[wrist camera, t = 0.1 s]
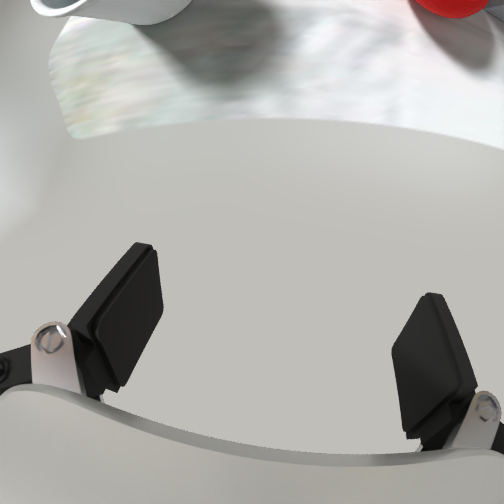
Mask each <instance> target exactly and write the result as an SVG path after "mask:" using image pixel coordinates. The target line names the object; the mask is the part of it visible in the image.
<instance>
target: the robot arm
mask: <svg viewBox="0 0 504 504" xmlns="http://www.w3.org/2000/svg"><path fill="white" fill-rule="evenodd" d="M163 308H164V307H163V299H162V291H161V285H160V275H159V266H158V257H157V251H156V250H153V247H152V245H149V244H143V243H138V242H136V243H134V244H133V245H132V246H131V248H130V249H129V250H128V251H127V252H126V253H125V255H124V256H123V257H122V258H121V259H120V260H119V261H118V262H117V264H116V265H115V266H114V267H113V268H112V269H111V271H110V272H109V273H108V274H107V275H106V277H105V278H104V279H103V280H102V281H101V283H100V284H99V285H98V286H97V287H96V289H95V290H94V291H93V292H92V294H91V295H90V296H89V297H88V299H87V300H86V301H85V302H84V304H83V305H82V306H81V307H80V309H79V310H78V311H77V313H76V314H75V315H74V316H73V318H72V319H71V321H70V322H69V324H68V325H65V324H63V323H61V322H56V321H55V322H49V323H46V324H44V325H42V326H41V327H39V328H38V329H37V330H36V331H35V332H34V335H33V336H32V339H31V344H29V345H26V346H23V347H20V348H17V349H14V350H10V351H7V352H3V353H0V504H504V424H503V423H501V422H500V419H501V407H500V404H499V402H498V400H497V398H496V397H495V396H494V395H493V394H491V393H489V392H488V391H479V392H478V393H475V389H476V388H477V387H478V385H477V381H476V378H475V375H474V372H473V369H472V366H471V363H470V360H469V358H468V355H467V352H466V349H465V347H464V344H463V341H462V339H461V336H460V334H459V331H458V329H457V326H456V324H455V322H454V319H453V317H452V315H451V312H450V310H449V308H448V306H447V303H446V301H445V299H444V297H443V295H441V294H437V293H426V294H425V296H422V297H421V298H420V300H419V301H418V303H417V305H416V307H415V309H414V311H413V312H412V314H411V316H410V318H409V319H408V321H407V323H406V325H405V326H404V328H403V330H402V332H401V333H400V335H399V336H398V338H397V340H396V341H395V343H394V345H393V347H392V359H393V365H394V370H395V377H396V383H397V389H398V396H399V403H400V411H401V420H402V428H403V431H405V432H406V437H407V439H418V438H420V440H421V444H420V445H419V447H418V448H417V450H416V451H415V452H411V453H398V454H397V453H396V454H370V455H368V454H366V455H358V454H357V455H354V454H352V455H351V454H325V453H310V452H299V451H289V450H280V449H273V448H266V447H259V446H253V445H247V444H242V443H236V442H231V441H226V440H222V439H217V438H213V437H208V436H204V435H200V434H196V433H192V432H188V431H185V430H181V429H177V428H174V427H171V426H167V425H164V424H161V423H158V422H155V421H151V420H149V419H146V418H143V417H140V416H137V415H133V414H131V413H128V412H125V411H122V410H120V409H117V408H114V407H112V406H109V405H107V404H105V403H104V400H103V396H102V394H103V393H104V391H105V389H108V390H111V391H114V392H116V393H117V392H118V390H119V388H120V386H122V387H123V386H125V384H126V383H127V381H128V379H129V377H130V375H131V373H132V371H133V369H134V367H135V366H136V363H137V362H138V360H139V358H140V356H141V354H142V352H143V350H144V348H145V346H146V344H147V342H148V340H149V339H150V337H151V335H152V333H153V331H154V329H155V327H156V325H157V323H158V321H159V320H160V318H161V316H162V314H163Z"/></svg>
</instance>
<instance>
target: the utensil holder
mask: <svg viewBox="0 0 504 504" xmlns="http://www.w3.org/2000/svg"><path fill="white" fill-rule="evenodd" d="M30 1H31V4H32V6H33V8H34V9H35V10H36V12H37V13H39V14H41V15H43V16H47V17H65V16H80V17H89V18H97V19H105V20H111V21H118V22H124V23H130V24H137V25H152V24H157V23H160V22H163V21H166V20H168V19H170V18H172V17H173V16H175V15H177V14H178V13H179V12H181V11H182V10H183V9H184V8H185V7H187V5H188V4H189V3H190V2H191V1H192V0H30Z"/></svg>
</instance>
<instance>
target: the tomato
mask: <svg viewBox="0 0 504 504" xmlns="http://www.w3.org/2000/svg"><path fill="white" fill-rule="evenodd" d="M415 1H416V2H417V3H418V4H420V5H421V6H422V7H423V8H425V9H427V10H428V11H430V12H432V13H434V14H437V15H439V16H443V17H446V18H464V17H467V16H470V15H473V14H475V13H477V12H478V11H480V10H481V9H483V8H484V7H485V6H486V5H487V3H488V1H489V0H415Z"/></svg>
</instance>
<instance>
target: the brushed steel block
mask: <svg viewBox="0 0 504 504" xmlns="http://www.w3.org/2000/svg"><path fill="white" fill-rule="evenodd" d="M483 10H485V11H487V12H488V13H490V14H492V15H493V16H495V17H496V18H498V19H500V20H501V21H503V22H504V0H489V1H488V3H487V5H486V6H485V7H484V8H483Z"/></svg>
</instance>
